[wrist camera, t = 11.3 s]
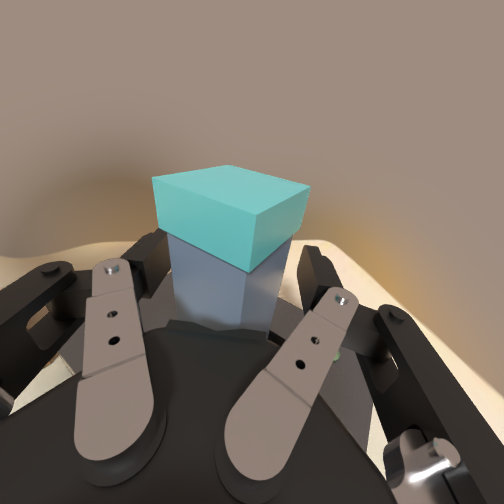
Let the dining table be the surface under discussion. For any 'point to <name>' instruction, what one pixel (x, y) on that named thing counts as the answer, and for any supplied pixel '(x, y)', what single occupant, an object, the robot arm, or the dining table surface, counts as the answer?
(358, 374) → the port panel
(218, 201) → the plug
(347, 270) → the dining table surface
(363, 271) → the dining table surface
